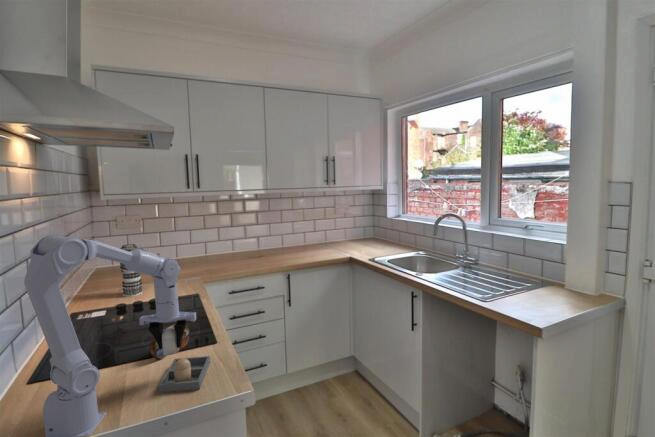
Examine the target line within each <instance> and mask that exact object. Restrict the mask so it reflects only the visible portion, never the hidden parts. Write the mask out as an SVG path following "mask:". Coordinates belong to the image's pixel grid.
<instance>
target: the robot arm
mask: <svg viewBox="0 0 655 437" xmlns="http://www.w3.org/2000/svg"><path fill="white" fill-rule="evenodd" d="M163 256H164V255H163V254H162V253H157V254H156V253H153V252H150V251H148V248H145V247H139V248H138V249H133V250H131V251H129V252H128V251H125V250H122V249H120V248H119V247H116V246H113V245H109V244H106V243H104V242H101V241H98V240H94V239H93V240H92V239H86V238H78V237H74V236H72V237H71V236H62V235H59V234H48V235H45V236H43V237H42V238H41V239H39V240H38V241H37V242H36V244H35V245H34V246H33V247H32V248H31V250H30V260H29V264H28V266H27V270H26V273H25V276H24V281H23V283H24V287H25V289H26V292H27V295H28V298H29V300H30V303H31V305H32V307H33V310H34V313H35V315H36V317H37V321H38V323H39V326H40V328H41V331H42V334H43V336H44V338H45V339H44V340H45V341H46V344H47V347H48V349H49V352H50V355H51V358H50V359H49V363H50V366H51V369H50V371H49V372H50V373H49V378H50V380H51V382H52V383H53V384H54V385H57V389H56V390H55V391H52V392H51V393H49V394H48V396H47V397H46V398H45V401H44V403H43V407H42V415H43V416H42V417H43V426H44V432H45V433H44V435H45V437H89V436H91V435H92V434H93V433H94V431H95V429H96V428H97V427H98V425H100V423H101V421H102V420H103V419H104V417H105V416H106V414H108V413H107V411H101V412H99V408H98V407H99V406H98V398H97V397H98V396H97V388H96V387H97V385H98V383H99V381H100V377H101V374H100V371H99V369H98V367H96V366H95V365H94V364H92V362H91V360H90V358H89V357H88V355H87V354H86V353H85V351H84V350H83V349H82V346H81V344H80V341H79V338H78V336H77V333H76V330H75V327H74V325H73V322H72V318H71V316H70V314H69V310H68V307H67V306H66V303H65V299H64V297H63V296H64V295H63V294H62V291H61V289H60V283H61V282H62V281H63V279H64V278H65V276H67V275H68V274H69V273H71V272H72V271H73V270H75V269H76V268H77V267H79V265H81V264H82V263H83V262H84V261H91V260H93V259H95V258H99V259H103V260H108V261H110V262H111V261H112V262H117V263H119V264H120V263H124V265H125V267H126V269H127V270H129V271H133V272H137V273H140V275H141V274H143V275H146V276H150V277H152V278H153V287H154V288H153V290H154V299H155V301H154V302H155V312H156V313H155V314H149V315H142V316H140V318H139V319H138V320H139V326H144V325H149V326H148V331H149V333H151V335H152V337H154V338H155V340H156V342H157V344H158V347H159V349H162V338H161V335H162V332H163V330H164V323H174V324H175V326H174V328H175V332H176V337H177V348H180V347H181V345H182V338H183V333H184V330H185V327H186V324H188V322H196V320H197V312H196V311H194V312H192V311H191V312H190V311H189V312H188V311H180V307H179V294H178V282H179V281H178V280H179V279H178V277H179V274H181V269H182V268H181V266H179V263H178V262H177V260H176V259H174V258H170V257H165V256H164V257H163Z"/></svg>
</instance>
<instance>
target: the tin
mask: <svg viewBox="0 0 655 437" xmlns="http://www.w3.org/2000/svg"><path fill="white" fill-rule="evenodd" d="M175 324H176V323H174V324H172V325H170V326H168V327H167V328H170V327H172V328H174V326H175ZM165 329H166V328H165ZM165 329H164V328H163V331H164V330H165ZM191 337H192V331H191V327H190V325H189V324H188V323H187V324H186V327H185V330H184V333H183V338H182V345H181V347H180V348H179V351H181V350H183V349H184V348H185V347H186V346H187V345H188V344H189V342H190V339H191ZM149 351H150V355H151V356H152V357H153V358H155V359H159V360H163V359H165V358H166V357H167V356H168V355H164V354H163V350H162V349H159V347H158V344H157V342H156V340H155V338H154V336H152V339H151V340H150V344H149Z"/></svg>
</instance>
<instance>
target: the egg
mask: <svg viewBox="0 0 655 437" xmlns="http://www.w3.org/2000/svg"><path fill="white" fill-rule="evenodd" d="M169 327H170V326H169ZM163 330H164V329H163ZM161 338H162V350H163V354H164V355H167V356H171V355H175V354H177V353H178V352H180V350H179V348H177V337H176V332H175V328H172V327H170V328H168V327H166V328H165V330H164V331H163V332H162V335H161Z"/></svg>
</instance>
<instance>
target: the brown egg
mask: <svg viewBox="0 0 655 437" xmlns="http://www.w3.org/2000/svg"><path fill="white" fill-rule="evenodd" d="M181 358H182V359H179V360H178V361H177V362H176V363H175V365H174V376H175V383H176V382H188V381H192V378H191V364H190V361H189V360H188V359H185V358H186V357H181Z"/></svg>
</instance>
